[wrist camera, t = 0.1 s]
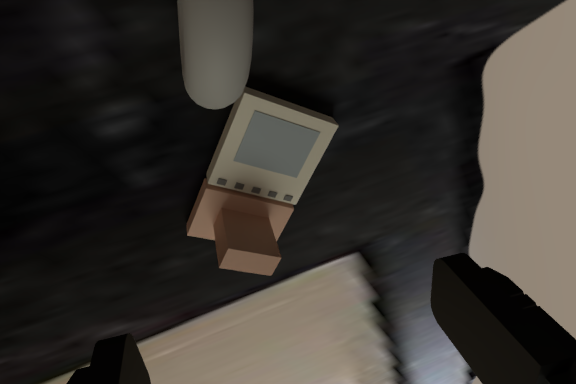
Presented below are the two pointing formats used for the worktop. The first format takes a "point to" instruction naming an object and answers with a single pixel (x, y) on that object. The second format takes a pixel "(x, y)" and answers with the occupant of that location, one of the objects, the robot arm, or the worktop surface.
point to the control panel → (269, 147)
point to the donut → (215, 49)
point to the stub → (240, 227)
